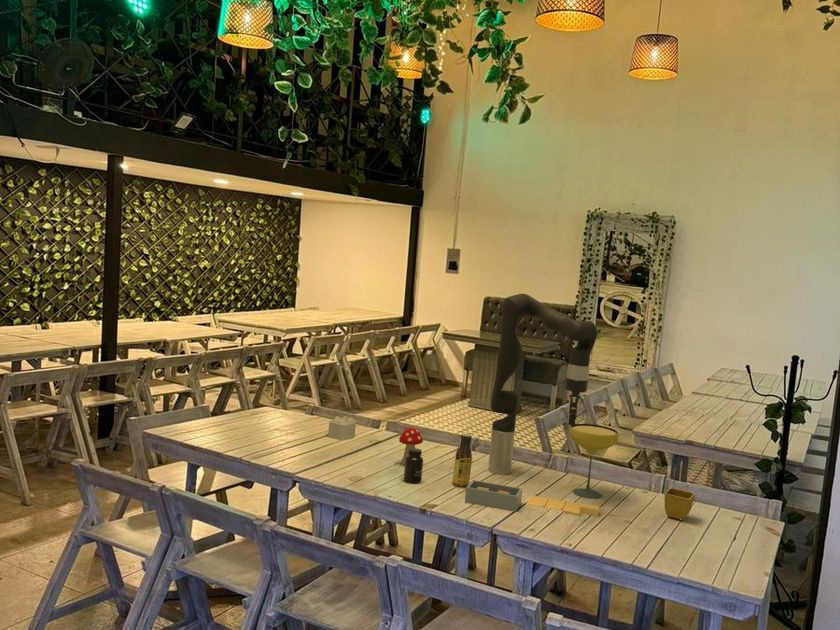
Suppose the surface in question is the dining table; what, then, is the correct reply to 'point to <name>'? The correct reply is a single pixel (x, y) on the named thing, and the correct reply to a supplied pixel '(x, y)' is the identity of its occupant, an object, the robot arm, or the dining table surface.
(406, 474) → the supplement bottle
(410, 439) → the decorative mushroom
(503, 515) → the dining table surface
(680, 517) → the flower pot
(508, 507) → the tub
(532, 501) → the lid
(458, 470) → the sauce bottle
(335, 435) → the grey studded block
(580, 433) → the cocktail glass
